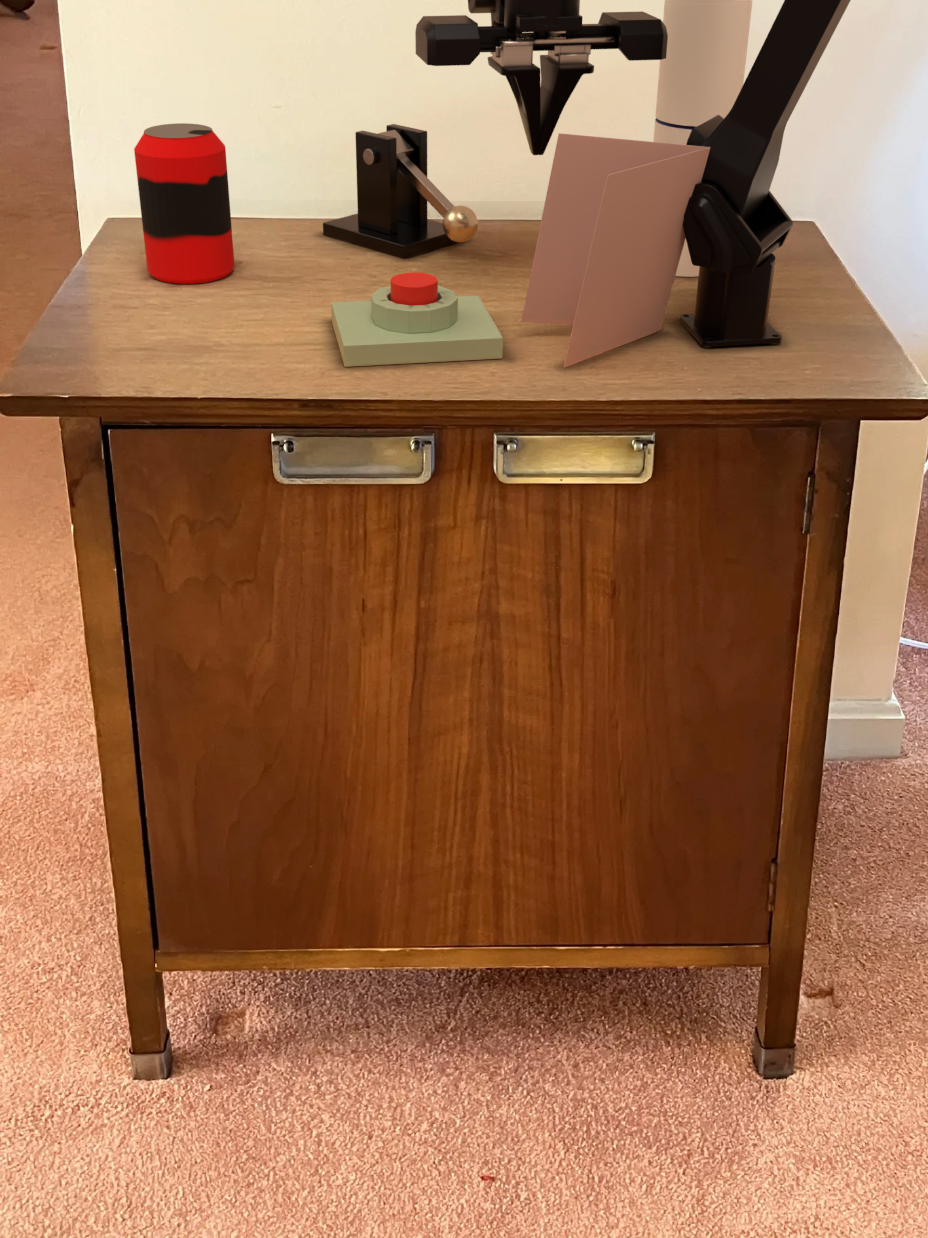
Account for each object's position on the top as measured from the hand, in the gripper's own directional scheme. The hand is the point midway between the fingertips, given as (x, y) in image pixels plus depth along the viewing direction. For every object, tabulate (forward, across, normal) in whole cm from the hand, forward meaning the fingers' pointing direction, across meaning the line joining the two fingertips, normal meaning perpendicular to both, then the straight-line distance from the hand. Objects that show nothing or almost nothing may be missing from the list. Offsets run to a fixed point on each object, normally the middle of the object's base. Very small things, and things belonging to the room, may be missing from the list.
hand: (536, 154), depth 109 cm
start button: (+9, +11, +8) cm, 17 cm away
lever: (+8, +7, -17) cm, 20 cm away
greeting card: (+12, -2, +12) cm, 17 cm away
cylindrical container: (+12, -16, -7) cm, 21 cm away
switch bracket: (+12, +9, -20) cm, 25 cm away
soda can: (+12, +28, -12) cm, 33 cm away
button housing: (+12, +12, +8) cm, 18 cm away
